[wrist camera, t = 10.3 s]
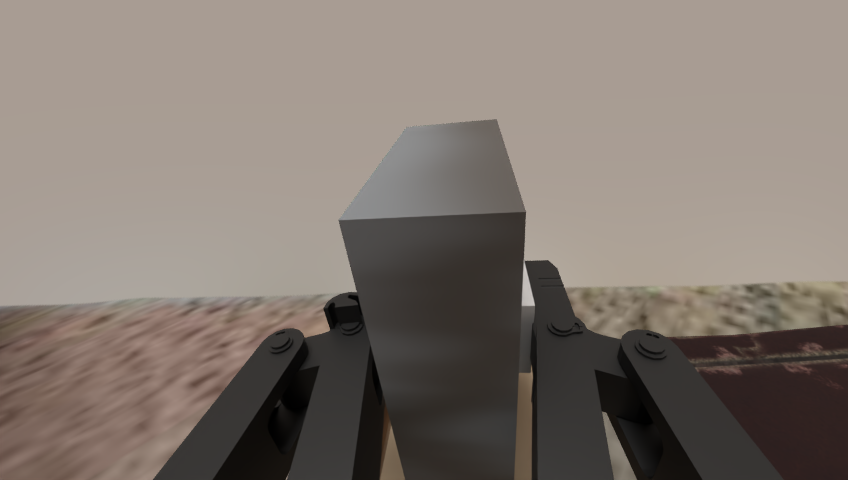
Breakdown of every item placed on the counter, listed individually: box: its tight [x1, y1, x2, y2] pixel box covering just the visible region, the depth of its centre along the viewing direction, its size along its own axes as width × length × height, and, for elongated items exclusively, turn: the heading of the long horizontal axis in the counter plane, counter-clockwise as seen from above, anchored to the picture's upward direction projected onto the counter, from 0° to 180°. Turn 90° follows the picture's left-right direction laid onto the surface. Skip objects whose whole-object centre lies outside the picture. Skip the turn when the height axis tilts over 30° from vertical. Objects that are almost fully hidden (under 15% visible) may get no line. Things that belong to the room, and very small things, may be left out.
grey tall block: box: [339, 119, 533, 480], centre depth 12 cm, size 6×8×13 cm
